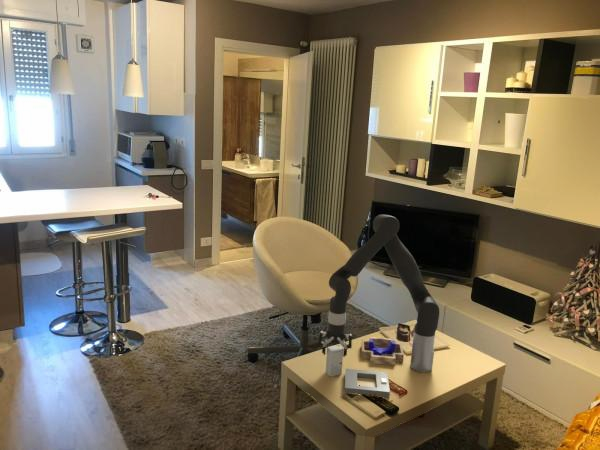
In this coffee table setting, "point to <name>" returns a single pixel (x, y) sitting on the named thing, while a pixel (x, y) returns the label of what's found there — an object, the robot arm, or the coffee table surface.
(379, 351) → the cable clip
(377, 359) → the tray
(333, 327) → the robot arm
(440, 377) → the coffee table surface
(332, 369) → the skincare box
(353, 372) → the socket plate
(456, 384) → the coffee table surface
